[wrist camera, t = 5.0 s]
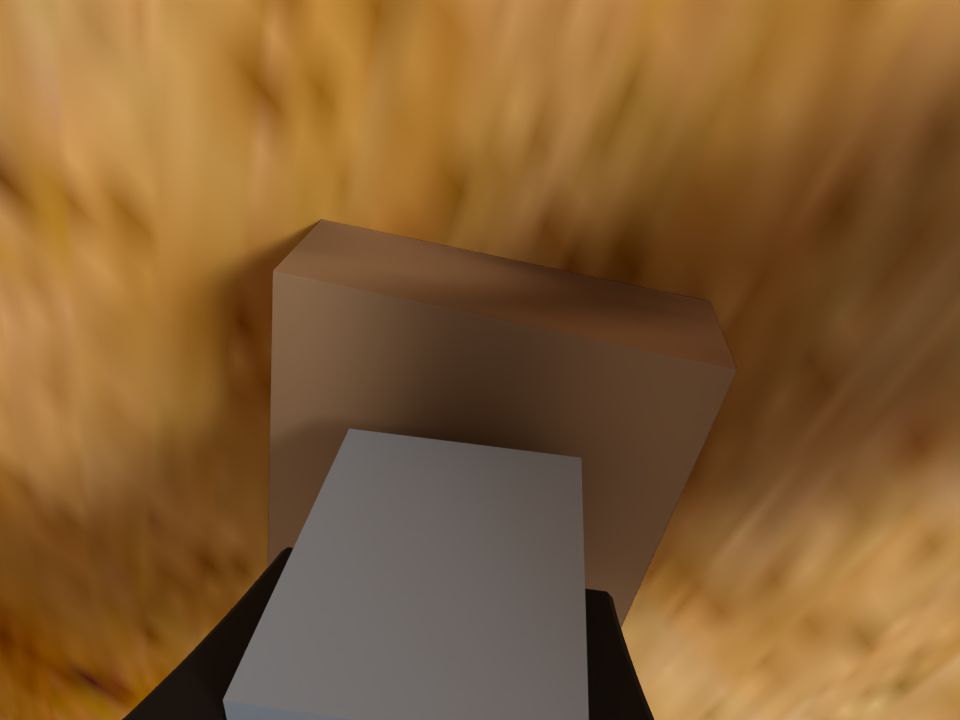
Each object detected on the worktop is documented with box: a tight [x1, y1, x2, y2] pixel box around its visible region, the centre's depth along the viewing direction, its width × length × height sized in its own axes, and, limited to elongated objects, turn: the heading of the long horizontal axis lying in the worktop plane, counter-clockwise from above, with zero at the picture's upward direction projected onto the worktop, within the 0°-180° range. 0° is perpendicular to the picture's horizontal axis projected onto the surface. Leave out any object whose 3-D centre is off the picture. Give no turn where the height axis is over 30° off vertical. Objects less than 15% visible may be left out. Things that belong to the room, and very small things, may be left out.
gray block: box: [223, 429, 589, 720], centre depth 10 cm, size 4×4×5 cm
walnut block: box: [268, 219, 737, 627], centre depth 15 cm, size 8×8×3 cm
